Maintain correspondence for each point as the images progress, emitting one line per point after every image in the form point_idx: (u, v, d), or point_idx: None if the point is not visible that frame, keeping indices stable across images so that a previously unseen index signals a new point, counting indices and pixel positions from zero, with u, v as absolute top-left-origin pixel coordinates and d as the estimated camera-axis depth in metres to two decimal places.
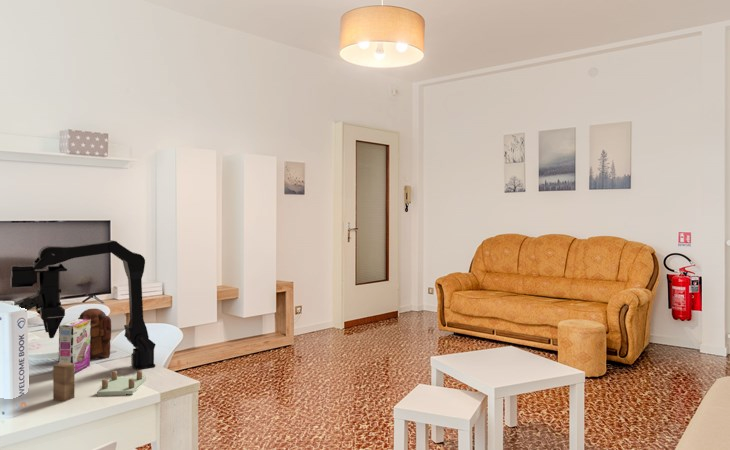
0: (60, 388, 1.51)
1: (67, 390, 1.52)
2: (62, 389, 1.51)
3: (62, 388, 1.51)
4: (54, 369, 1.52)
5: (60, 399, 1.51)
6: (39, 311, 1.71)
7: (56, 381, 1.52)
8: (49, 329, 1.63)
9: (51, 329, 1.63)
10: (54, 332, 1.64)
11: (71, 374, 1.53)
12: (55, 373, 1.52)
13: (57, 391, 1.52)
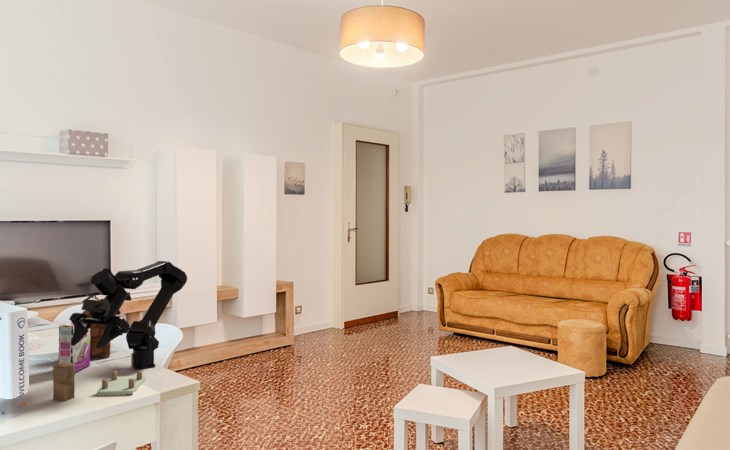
0: (60, 388, 1.51)
1: (67, 390, 1.52)
2: (62, 389, 1.51)
3: (62, 388, 1.51)
4: (54, 369, 1.52)
5: (60, 399, 1.51)
6: (79, 321, 1.65)
7: (56, 381, 1.52)
8: (104, 338, 1.60)
9: (105, 339, 1.61)
10: (103, 344, 1.61)
11: (71, 374, 1.53)
12: (55, 373, 1.52)
13: (57, 391, 1.52)
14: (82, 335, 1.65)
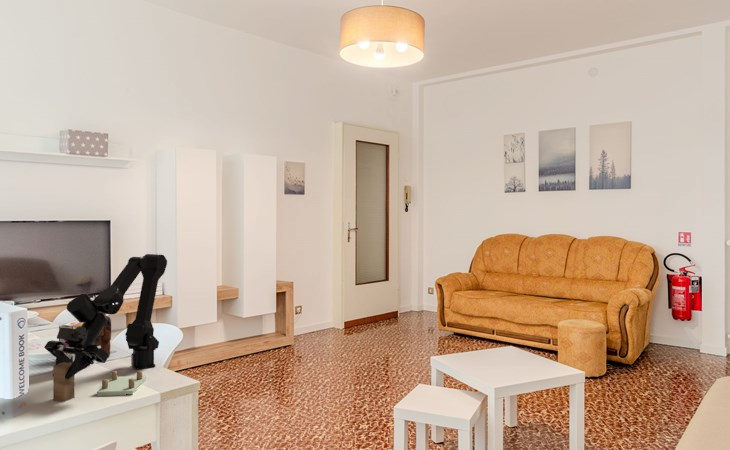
0: (60, 388, 1.51)
1: (67, 390, 1.52)
2: (62, 389, 1.51)
3: (62, 388, 1.51)
4: (54, 369, 1.52)
5: (60, 399, 1.51)
6: (61, 351, 1.55)
7: (56, 381, 1.52)
8: (73, 368, 1.52)
9: (74, 369, 1.53)
10: (73, 374, 1.53)
11: None
12: (55, 373, 1.52)
13: (57, 391, 1.52)
14: None
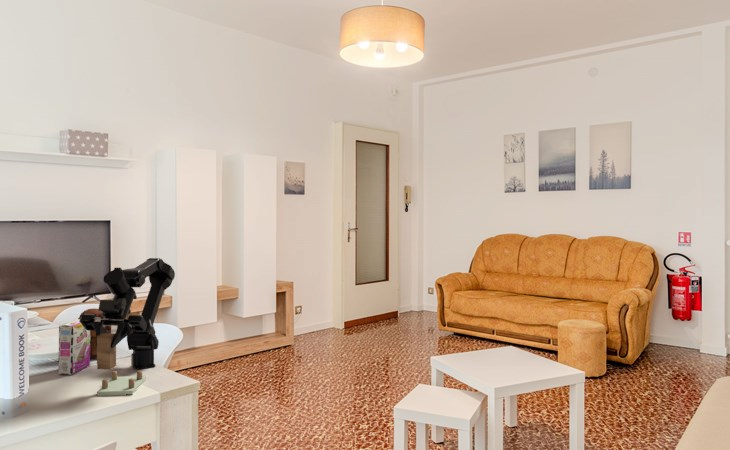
0: (105, 357, 1.58)
1: (111, 358, 1.59)
2: (108, 358, 1.58)
3: (107, 357, 1.58)
4: (98, 339, 1.58)
5: (105, 367, 1.58)
6: (100, 323, 1.61)
7: (100, 351, 1.58)
8: (117, 337, 1.60)
9: (118, 338, 1.60)
10: (116, 343, 1.60)
11: None
12: (99, 343, 1.58)
13: (101, 360, 1.58)
14: None
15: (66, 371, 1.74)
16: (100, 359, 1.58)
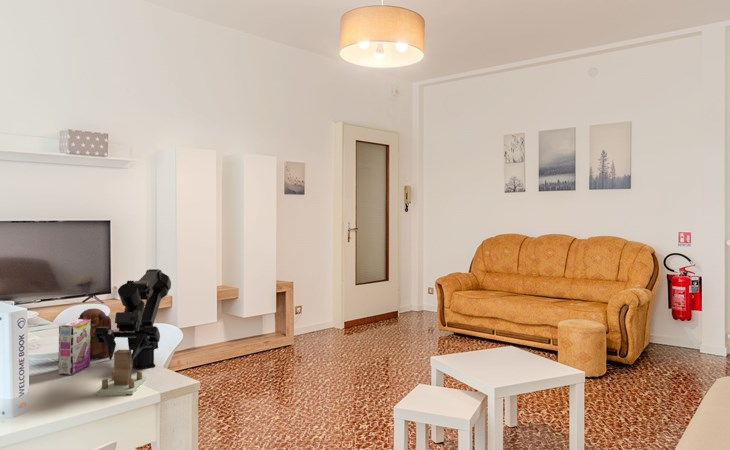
0: (122, 373, 1.62)
1: (128, 374, 1.63)
2: (125, 374, 1.62)
3: (125, 373, 1.62)
4: (115, 356, 1.61)
5: (122, 383, 1.62)
6: (112, 335, 1.65)
7: (117, 367, 1.62)
8: (137, 348, 1.64)
9: (137, 350, 1.64)
10: (136, 354, 1.64)
11: (130, 359, 1.64)
12: (116, 360, 1.62)
13: (119, 376, 1.62)
14: (114, 348, 1.66)
15: (66, 371, 1.74)
16: (117, 375, 1.62)
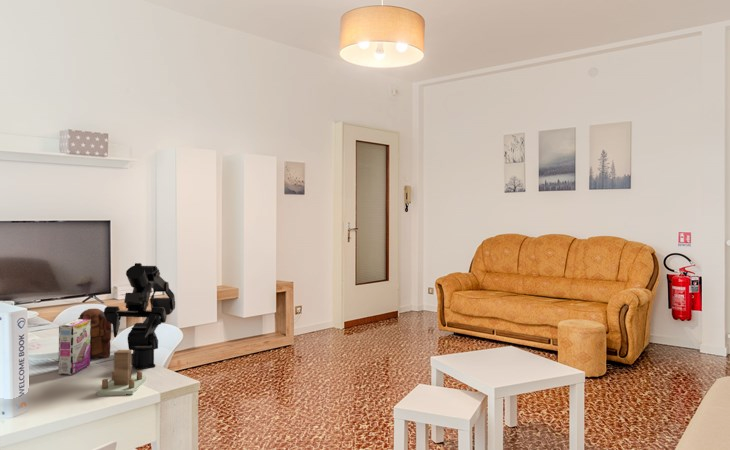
0: (122, 373, 1.62)
1: (128, 374, 1.63)
2: (125, 374, 1.62)
3: (125, 373, 1.62)
4: (115, 356, 1.61)
5: (122, 383, 1.62)
6: (116, 314, 1.73)
7: (117, 367, 1.62)
8: (149, 328, 1.73)
9: (149, 329, 1.73)
10: (148, 333, 1.73)
11: (130, 359, 1.64)
12: (116, 360, 1.62)
13: (119, 376, 1.62)
14: (118, 327, 1.74)
15: (66, 371, 1.74)
16: (117, 375, 1.62)
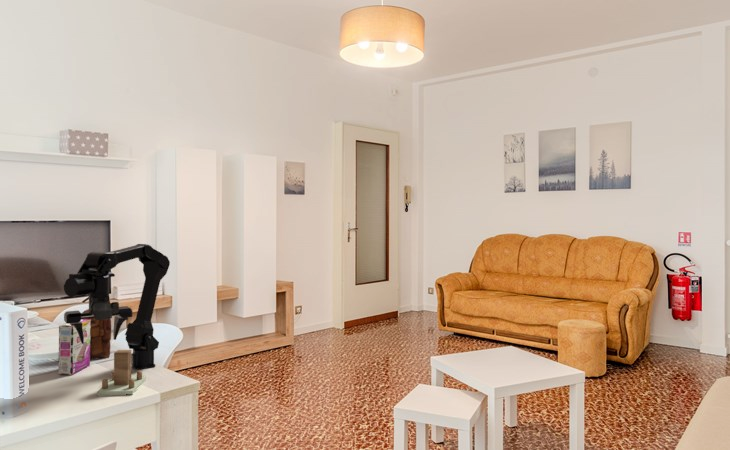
0: (122, 373, 1.62)
1: (128, 374, 1.63)
2: (125, 374, 1.62)
3: (125, 373, 1.62)
4: (115, 356, 1.61)
5: (122, 383, 1.62)
6: None
7: (117, 367, 1.62)
8: None
9: None
10: None
11: (130, 359, 1.64)
12: (116, 360, 1.62)
13: (119, 376, 1.62)
14: None
15: (66, 371, 1.74)
16: (117, 375, 1.62)
